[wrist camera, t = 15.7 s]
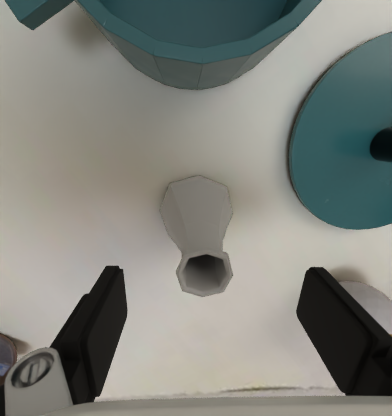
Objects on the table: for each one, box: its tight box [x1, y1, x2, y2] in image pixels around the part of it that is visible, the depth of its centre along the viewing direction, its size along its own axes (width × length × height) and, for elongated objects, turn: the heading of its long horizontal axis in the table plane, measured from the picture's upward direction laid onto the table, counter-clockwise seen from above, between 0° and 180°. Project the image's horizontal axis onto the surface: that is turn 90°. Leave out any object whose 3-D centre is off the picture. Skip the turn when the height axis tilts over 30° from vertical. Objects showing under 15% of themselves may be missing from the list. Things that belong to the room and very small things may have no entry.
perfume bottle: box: [338, 281, 392, 336], centre depth 20 cm, size 8×10×12 cm
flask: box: [160, 175, 233, 297], centre depth 16 cm, size 7×7×10 cm
